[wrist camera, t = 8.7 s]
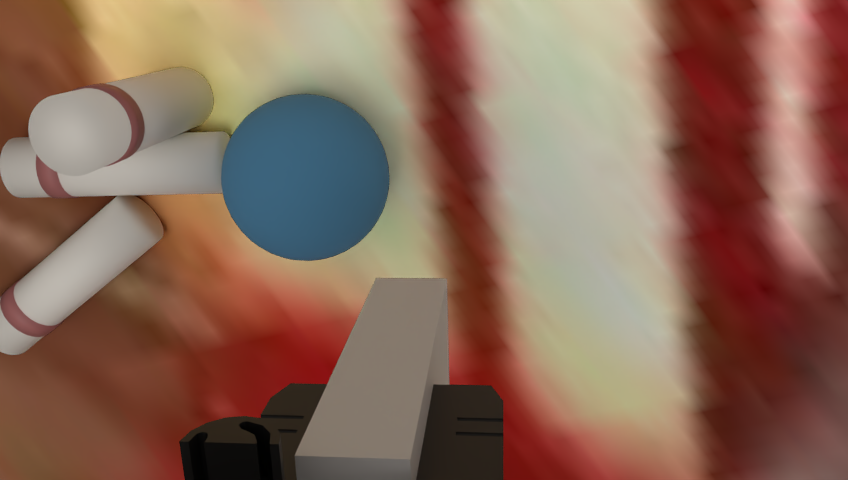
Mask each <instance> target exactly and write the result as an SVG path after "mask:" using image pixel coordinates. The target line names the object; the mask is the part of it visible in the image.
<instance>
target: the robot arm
mask: <svg viewBox="0 0 848 480" xmlns="http://www.w3.org/2000/svg"><path fill="white" fill-rule="evenodd" d="M179 442H180V449H181V456H182V463H183V470H184V476H185V480H503V400H502V399H501V398H500V396H499V395H498V394H497V393H496V391H495V390H494V389H493V387H492V386H486V385H449V349H448V304H447V279H442V278H376V279H375V281H374V284H373V286H372V288H371V290H370V292H369V294H368V297H367V299H366V301H365V303H364V305H363V308H362V310H361V312H360V314H359V316H358V318H357V321H356V323H355V325H354V327H353V329H352V331H351V334H350V336H349V338H348V340H347V342H346V345H345V347H344V349H343V351H342V353H341V355H340V358H339V360H338V362H337V364H336V366H335V369H334V371H333V373H332V375H331V377H330V379H329V382H328V384H289V385H288V386H287V387H285V388H284V389H282V390H281V391H280V392H278V393H277V394H275V395H274V396H273V397H271V398H270V400H269V402H268V403H267V405H266V407H265V409H264V410H263V412H262V414H261V418H255V417H247V416H241V417H228V418H223V419H219V420H216V421H212V422H208V423H206V424H204V425H202V426H200V427H198V428H196V429H194V430H192V431H190V432H189V433H188V434H187V435H186V436H185V437H184V438H183V439H182V440H181V441H179Z"/></svg>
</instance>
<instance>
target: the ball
mask: <svg viewBox="0 0 848 480" xmlns="http://www.w3.org/2000/svg"><path fill="white" fill-rule="evenodd" d="M221 185H222V191H223V196H224V200H225V203H226V206H227V208H228V210H229V212H230V214H231V217H232V218H233V220H234V221H235V223H236V224H237V226H238V227H239V229H240V230H241V231H242V232H243V233H244V234H245V235H246V236H247V237H248V238H249V239H250V240H251V241H252V242H254V243H255V244H256V245H258V246H259V247H261V248H263V249H264V250H266V251H268V252H270V253H272V254H275V255H277V256H280V257H283V258H287V259H292V260H305V261H312V260H320V259H325V258H329V257H333V256H335V255H338V254H340V253H342V252H345V251H346V250H348V249H350V248H351V247H353V246H354V245H356V244H357V243H358V242H360V241H361V240H362V239H363V238H364V237H365V236H366V235H367V234H368V233H369V232H370V231H371V229H372V228H373V227H374V225H375V224H376V222H377V221H378V219H379V217H380V215H381V213H382V211H383V209H384V206H385V203H386V199H387V195H388V189H389V167H388V162H387V158H386V154H385V151H384V148H383V146H382V144H381V141H380V139H379V138H378V136H377V134H376V133H375V131H374V130H373V128H372V127H371V126H370V125H369V124H368V122H367V121H366V120H365V119H364V118H363V117H362V116H360V115H359V114H358V113H357V112H356V111H354V110H353V109H351V108H350V107H348V106H347V105H345V104H343V103H341V102H338V101H336V100H334V99H331V98H328V97H324V96H319V95H311V94H298V95H289V96H285V97H281V98H277V99H275V100H272V101H270V102H268V103H266V104H263V105H262V106H260V107H259V108H257V109H256V110H254V111H253V112H252V113H250V114H249V115H248V116H247V117H246V118H245V119H244V120H243V121H242V122H241V124H240V125H239V126H238V127H237V129H236V130H235V131H234V133H233V135H232V136H231V138H230V140H229V142H228V145H227V147H226V150H225V153H224V157H223V161H222V170H221Z"/></svg>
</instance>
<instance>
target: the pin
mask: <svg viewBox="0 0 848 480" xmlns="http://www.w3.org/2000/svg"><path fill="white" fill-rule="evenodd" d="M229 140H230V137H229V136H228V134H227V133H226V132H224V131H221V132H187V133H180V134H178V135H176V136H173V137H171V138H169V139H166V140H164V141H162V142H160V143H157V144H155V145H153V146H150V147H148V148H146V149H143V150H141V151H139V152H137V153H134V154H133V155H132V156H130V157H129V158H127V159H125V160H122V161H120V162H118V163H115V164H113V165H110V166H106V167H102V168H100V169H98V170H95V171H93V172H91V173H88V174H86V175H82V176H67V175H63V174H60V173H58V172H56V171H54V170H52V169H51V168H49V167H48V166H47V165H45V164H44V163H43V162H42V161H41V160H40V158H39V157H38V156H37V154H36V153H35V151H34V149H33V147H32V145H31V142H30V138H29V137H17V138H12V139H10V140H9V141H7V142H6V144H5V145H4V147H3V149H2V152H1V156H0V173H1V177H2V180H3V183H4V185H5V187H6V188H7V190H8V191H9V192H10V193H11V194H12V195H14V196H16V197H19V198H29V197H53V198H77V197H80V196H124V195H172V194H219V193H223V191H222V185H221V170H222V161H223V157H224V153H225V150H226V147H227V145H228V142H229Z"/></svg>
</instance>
